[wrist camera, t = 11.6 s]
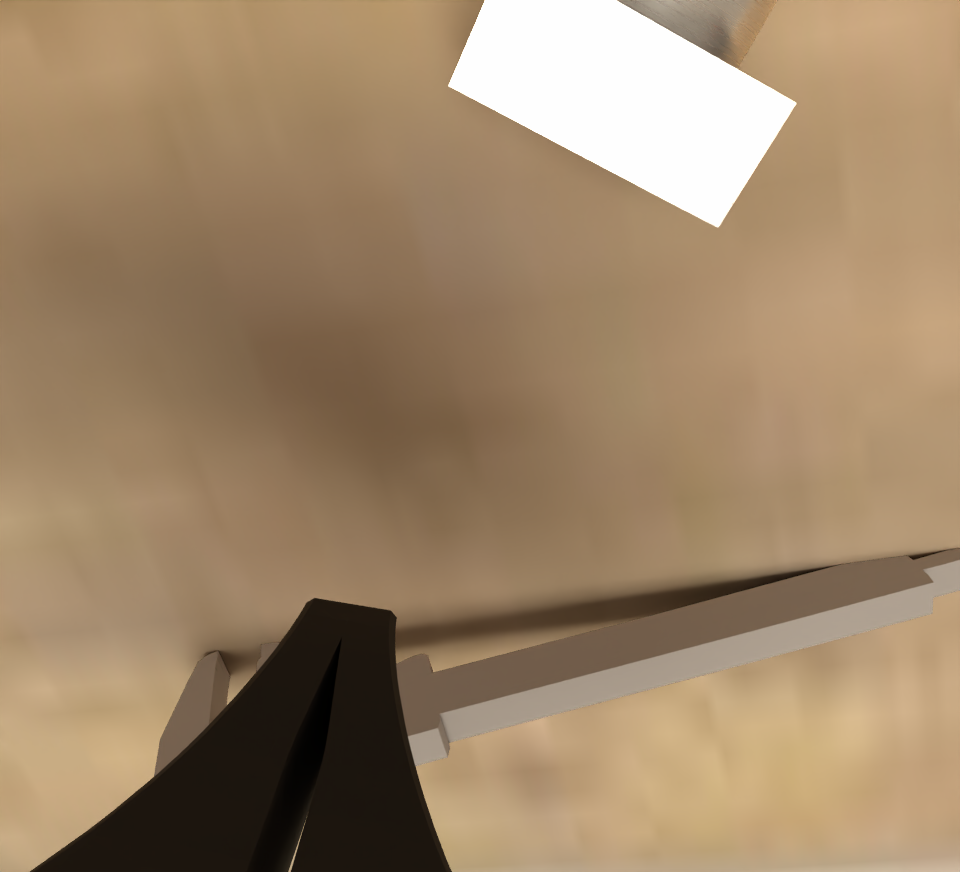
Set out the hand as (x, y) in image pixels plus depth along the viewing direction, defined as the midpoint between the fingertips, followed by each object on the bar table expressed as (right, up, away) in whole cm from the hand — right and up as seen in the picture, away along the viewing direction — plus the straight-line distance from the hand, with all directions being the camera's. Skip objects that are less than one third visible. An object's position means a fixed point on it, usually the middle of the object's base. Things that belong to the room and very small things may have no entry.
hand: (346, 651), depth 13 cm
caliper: (+4, -1, +10) cm, 11 cm away
